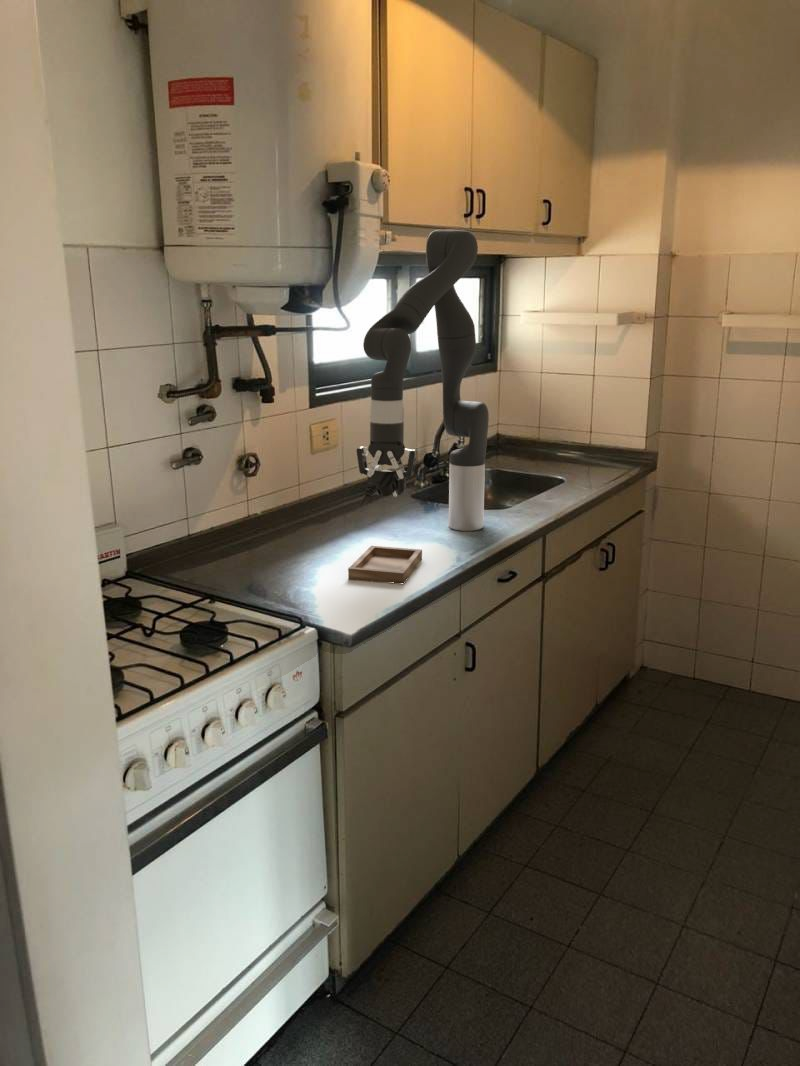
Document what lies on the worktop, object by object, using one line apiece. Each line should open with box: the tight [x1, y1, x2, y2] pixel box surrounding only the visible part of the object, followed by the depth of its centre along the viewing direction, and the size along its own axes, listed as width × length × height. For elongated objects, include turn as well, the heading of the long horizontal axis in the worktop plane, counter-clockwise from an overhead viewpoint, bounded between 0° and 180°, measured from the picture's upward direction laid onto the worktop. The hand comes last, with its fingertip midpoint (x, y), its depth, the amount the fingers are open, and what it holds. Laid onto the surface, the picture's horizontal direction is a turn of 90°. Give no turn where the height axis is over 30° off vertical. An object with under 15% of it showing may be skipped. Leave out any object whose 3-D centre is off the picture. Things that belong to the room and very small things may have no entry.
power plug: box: [359, 469, 398, 506], centre depth 191 cm, size 6×8×12 cm
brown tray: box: [347, 545, 423, 584], centre depth 192 cm, size 17×12×2 cm
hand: (386, 493), depth 194 cm, fingers closed on power plug, 6 cm apart
